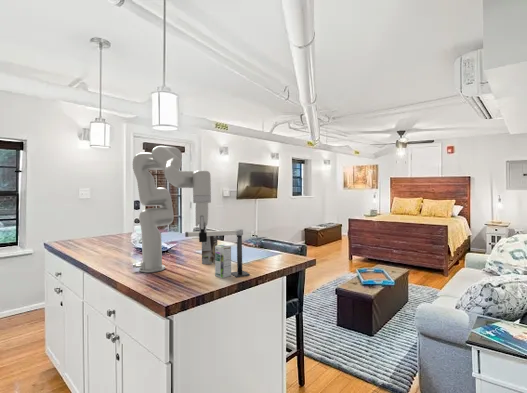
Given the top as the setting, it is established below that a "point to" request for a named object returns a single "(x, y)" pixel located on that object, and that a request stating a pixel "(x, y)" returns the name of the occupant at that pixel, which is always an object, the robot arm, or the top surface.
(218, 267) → the syrup box
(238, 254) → the stand
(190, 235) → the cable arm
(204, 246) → the coffee box
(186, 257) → the top surface
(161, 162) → the robot arm
